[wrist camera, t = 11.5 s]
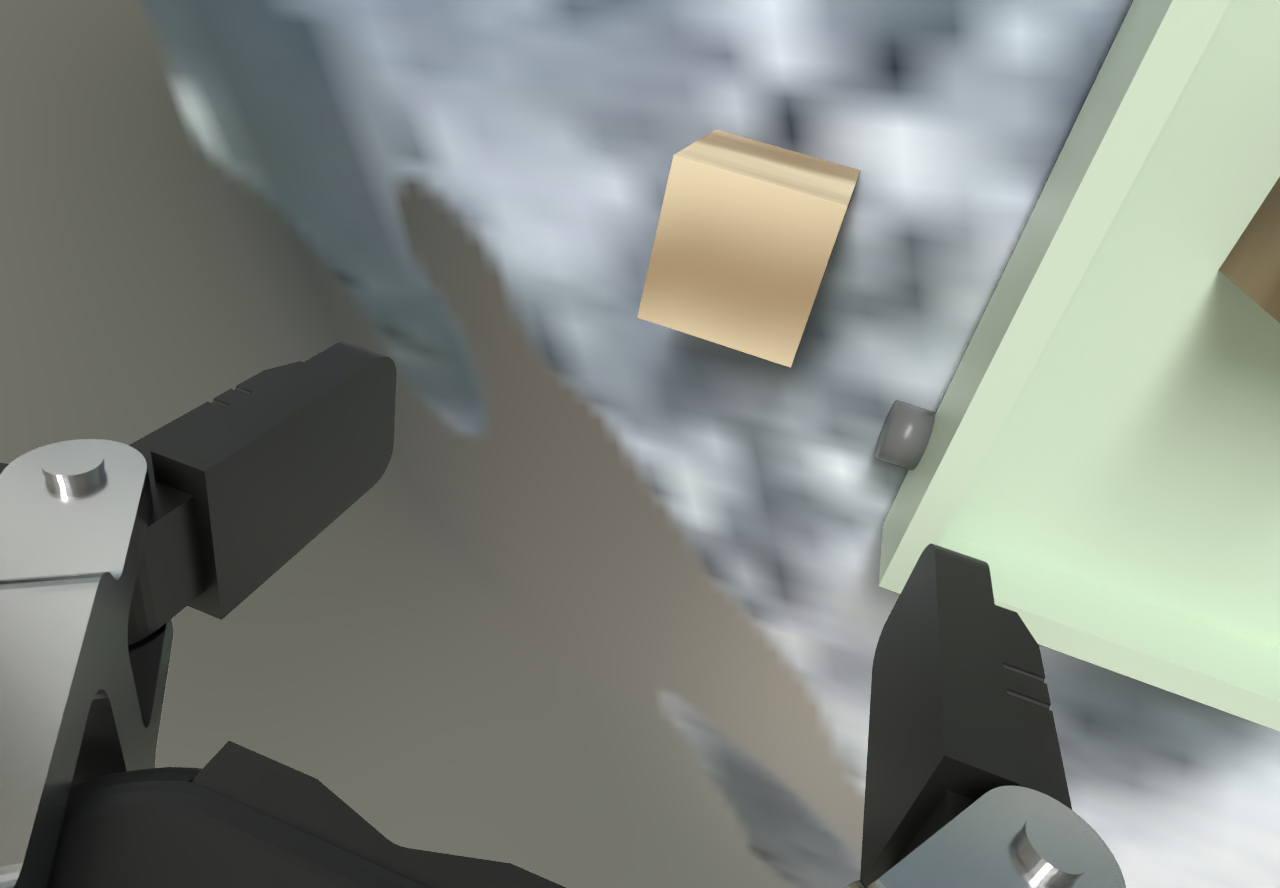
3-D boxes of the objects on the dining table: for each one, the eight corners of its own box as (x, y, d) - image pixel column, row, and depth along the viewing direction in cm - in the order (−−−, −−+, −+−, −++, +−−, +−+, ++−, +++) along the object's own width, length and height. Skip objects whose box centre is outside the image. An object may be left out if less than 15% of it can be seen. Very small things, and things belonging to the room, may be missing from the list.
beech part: (716, 129, 24) (673, 154, 20) (860, 170, 23) (847, 206, 19) (682, 268, 26) (637, 317, 22) (812, 308, 26) (790, 367, 21)
